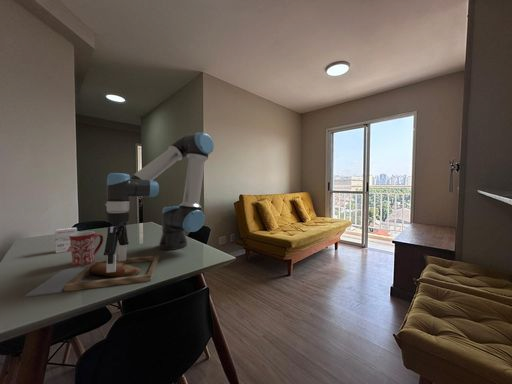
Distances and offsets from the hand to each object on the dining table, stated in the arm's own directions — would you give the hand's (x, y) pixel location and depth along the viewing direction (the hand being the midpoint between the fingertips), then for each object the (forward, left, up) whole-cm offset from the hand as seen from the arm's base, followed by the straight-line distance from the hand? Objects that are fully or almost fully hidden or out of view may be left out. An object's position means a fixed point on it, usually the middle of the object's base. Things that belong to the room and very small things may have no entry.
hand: (117, 265), depth 81 cm
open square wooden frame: (-1, -1, -3) cm, 4 cm away
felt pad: (+17, +1, -3) cm, 18 cm away
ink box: (+35, -41, -3) cm, 54 cm away
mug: (+17, -19, -3) cm, 26 cm away
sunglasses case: (-1, -1, -4) cm, 4 cm away
